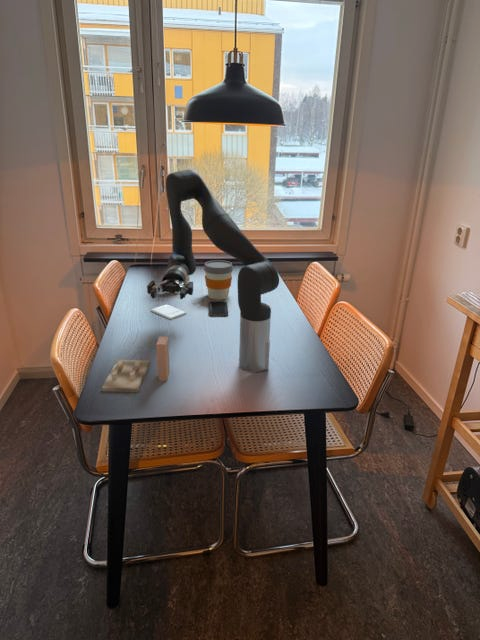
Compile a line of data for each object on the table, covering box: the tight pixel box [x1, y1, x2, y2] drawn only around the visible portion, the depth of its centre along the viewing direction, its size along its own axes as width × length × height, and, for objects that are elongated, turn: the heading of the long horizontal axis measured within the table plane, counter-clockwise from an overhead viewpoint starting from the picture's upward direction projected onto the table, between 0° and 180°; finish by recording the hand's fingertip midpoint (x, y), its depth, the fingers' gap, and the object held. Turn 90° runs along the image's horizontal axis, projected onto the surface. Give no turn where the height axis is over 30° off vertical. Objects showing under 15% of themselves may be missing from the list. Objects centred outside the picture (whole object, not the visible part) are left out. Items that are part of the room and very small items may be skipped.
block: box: [156, 336, 171, 382], centre depth 126 cm, size 5×2×12 cm, turn 179°
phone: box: [208, 300, 229, 318], centre depth 178 cm, size 8×1×15 cm
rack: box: [101, 359, 150, 393], centre depth 127 cm, size 16×10×3 cm, turn 179°
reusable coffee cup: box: [203, 259, 234, 301], centre depth 189 cm, size 13×12×15 cm
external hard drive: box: [150, 304, 187, 321], centre depth 173 cm, size 2×8×12 cm
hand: (167, 295), depth 130 cm, fingers open, 8 cm apart
